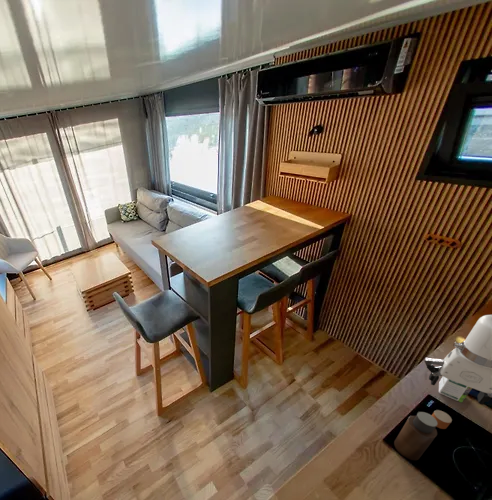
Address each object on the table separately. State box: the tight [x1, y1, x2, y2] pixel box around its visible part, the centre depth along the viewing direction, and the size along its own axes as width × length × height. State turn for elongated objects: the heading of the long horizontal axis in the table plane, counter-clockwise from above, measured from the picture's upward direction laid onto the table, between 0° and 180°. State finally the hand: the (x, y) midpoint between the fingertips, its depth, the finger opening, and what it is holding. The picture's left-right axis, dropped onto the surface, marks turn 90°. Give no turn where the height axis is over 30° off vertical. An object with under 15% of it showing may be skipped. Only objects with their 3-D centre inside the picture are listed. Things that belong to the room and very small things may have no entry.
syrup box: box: [438, 376, 473, 403], centre depth 91 cm, size 6×6×14 cm
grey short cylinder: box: [413, 411, 438, 434], centre depth 74 cm, size 4×4×4 cm
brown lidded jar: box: [393, 415, 438, 461], centre depth 79 cm, size 6×6×14 cm
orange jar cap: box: [430, 409, 453, 430], centre depth 86 cm, size 4×4×4 cm
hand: (455, 390), depth 79 cm, fingers open, 9 cm apart
